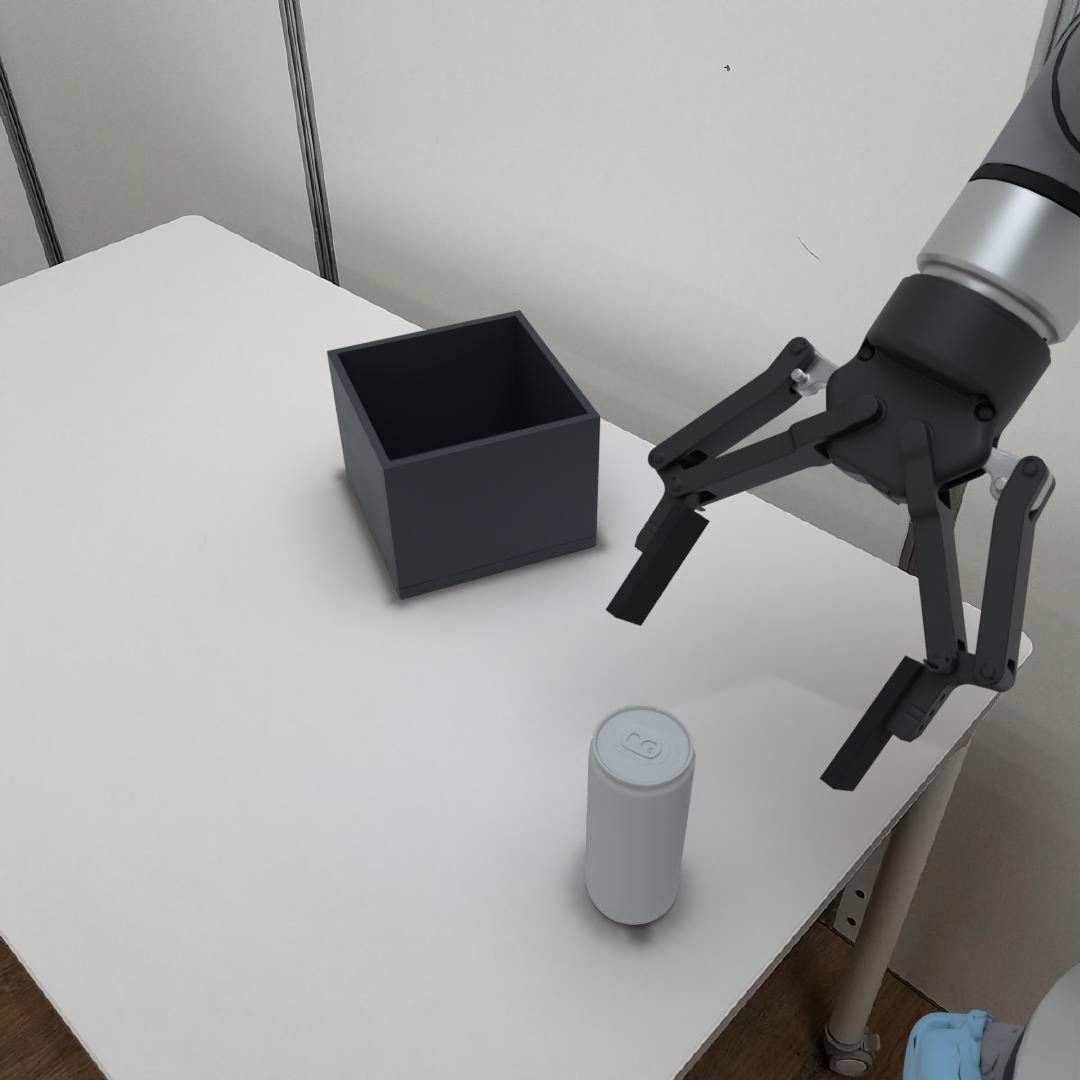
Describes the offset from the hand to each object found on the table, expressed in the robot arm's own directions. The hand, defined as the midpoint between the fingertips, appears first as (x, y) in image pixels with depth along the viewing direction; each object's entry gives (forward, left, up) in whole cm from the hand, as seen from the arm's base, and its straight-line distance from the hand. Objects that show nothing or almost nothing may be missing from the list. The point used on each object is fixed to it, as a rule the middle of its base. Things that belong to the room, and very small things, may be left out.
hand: (721, 696), depth 53 cm
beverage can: (-2, +5, -11) cm, 12 cm away
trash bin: (+30, +3, -11) cm, 32 cm away
